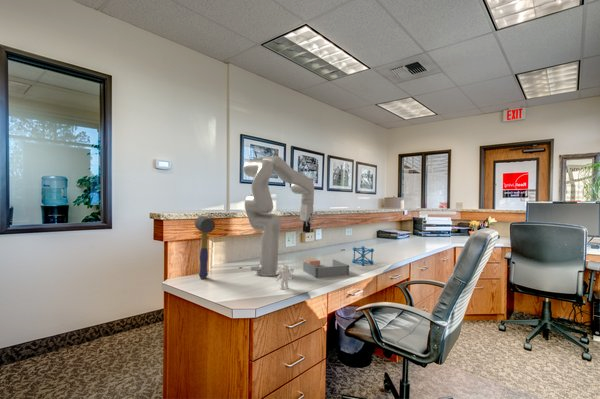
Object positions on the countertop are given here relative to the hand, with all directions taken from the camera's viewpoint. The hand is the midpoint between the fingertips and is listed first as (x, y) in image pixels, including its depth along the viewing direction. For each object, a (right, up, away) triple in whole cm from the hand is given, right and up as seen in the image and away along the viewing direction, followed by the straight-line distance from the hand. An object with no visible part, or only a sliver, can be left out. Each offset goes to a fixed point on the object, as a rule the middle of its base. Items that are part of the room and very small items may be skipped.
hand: (306, 231), depth 189 cm
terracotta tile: (+3, -20, -8) cm, 21 cm away
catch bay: (+10, -20, -21) cm, 31 cm away
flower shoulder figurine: (-11, -20, -51) cm, 56 cm away
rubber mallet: (-51, -19, -40) cm, 67 cm away
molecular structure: (+36, -21, +4) cm, 41 cm away
